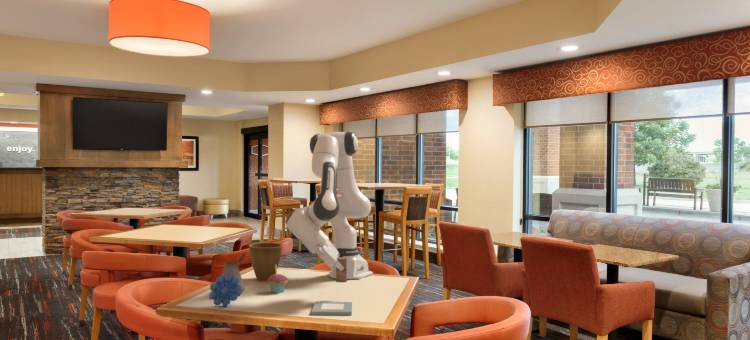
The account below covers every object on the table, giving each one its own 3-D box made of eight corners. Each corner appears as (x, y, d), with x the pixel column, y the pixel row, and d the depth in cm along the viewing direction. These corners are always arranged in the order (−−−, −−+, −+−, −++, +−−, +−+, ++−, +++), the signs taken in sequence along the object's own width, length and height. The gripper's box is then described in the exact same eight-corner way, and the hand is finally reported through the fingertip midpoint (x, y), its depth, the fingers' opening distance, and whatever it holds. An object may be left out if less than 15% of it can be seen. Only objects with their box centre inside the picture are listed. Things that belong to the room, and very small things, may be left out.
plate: (315, 304, 205) (315, 301, 205) (352, 305, 205) (352, 301, 205) (311, 314, 191) (311, 311, 191) (351, 315, 191) (351, 311, 191)
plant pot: (242, 279, 249) (243, 244, 249) (270, 275, 259) (271, 241, 259) (259, 284, 238) (259, 248, 238) (287, 280, 248) (288, 245, 248)
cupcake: (283, 294, 220) (283, 265, 220) (263, 293, 222) (263, 264, 222) (290, 289, 229) (290, 261, 229) (271, 288, 231) (272, 260, 231)
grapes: (242, 302, 206) (242, 271, 206) (240, 307, 199) (240, 274, 199) (210, 303, 204) (211, 271, 204) (207, 308, 198) (208, 275, 198)
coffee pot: (238, 298, 212) (238, 260, 212) (210, 297, 214) (211, 259, 214) (258, 287, 233) (259, 252, 233) (233, 285, 235) (234, 251, 235)
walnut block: (336, 279, 215) (336, 257, 215) (346, 279, 216) (346, 257, 215) (335, 282, 211) (336, 259, 211) (346, 282, 211) (346, 259, 211)
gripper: (322, 241, 202) (348, 267, 203) (325, 233, 223) (349, 257, 223) (310, 253, 202) (336, 279, 203) (314, 244, 223) (338, 268, 223)
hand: (343, 267), depth 213 cm, fingers closed on walnut block, 4 cm apart
